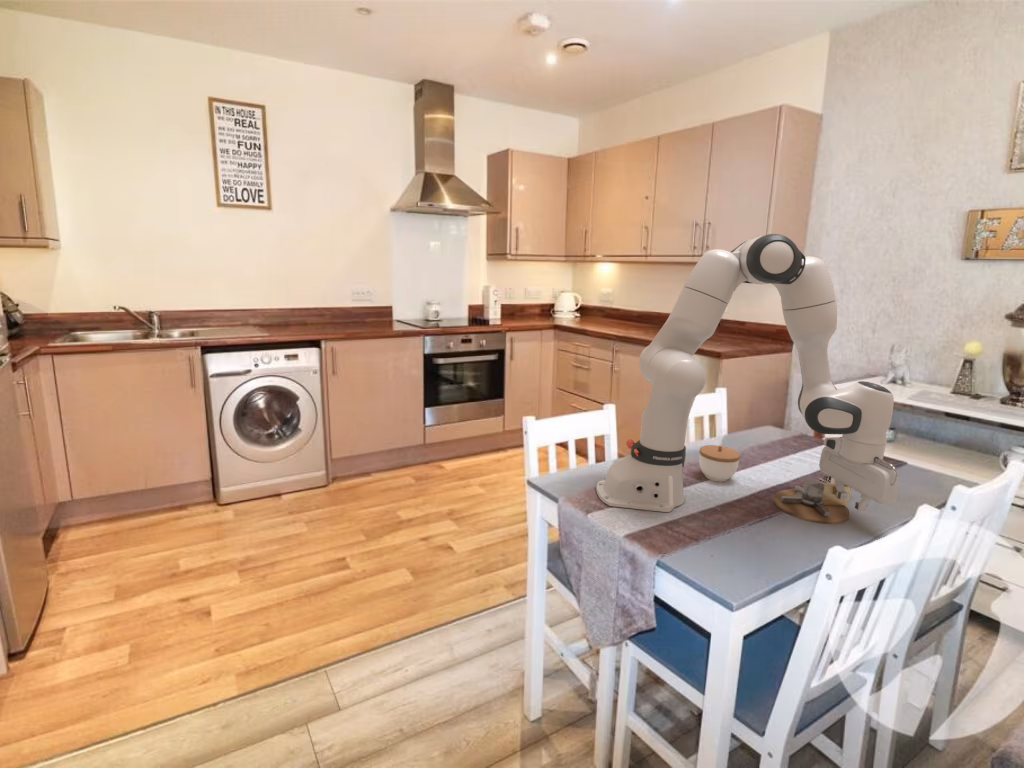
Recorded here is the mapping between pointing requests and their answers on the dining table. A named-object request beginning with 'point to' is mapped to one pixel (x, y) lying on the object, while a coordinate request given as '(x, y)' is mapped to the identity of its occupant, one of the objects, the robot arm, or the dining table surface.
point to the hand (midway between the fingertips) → (850, 504)
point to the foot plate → (811, 510)
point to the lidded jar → (718, 462)
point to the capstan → (817, 496)
